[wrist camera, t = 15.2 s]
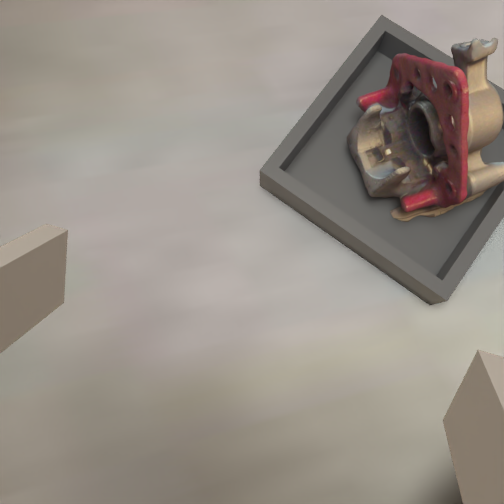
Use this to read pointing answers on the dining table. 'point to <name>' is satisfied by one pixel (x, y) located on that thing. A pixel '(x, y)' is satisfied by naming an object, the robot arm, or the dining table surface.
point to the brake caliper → (430, 132)
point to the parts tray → (353, 188)
